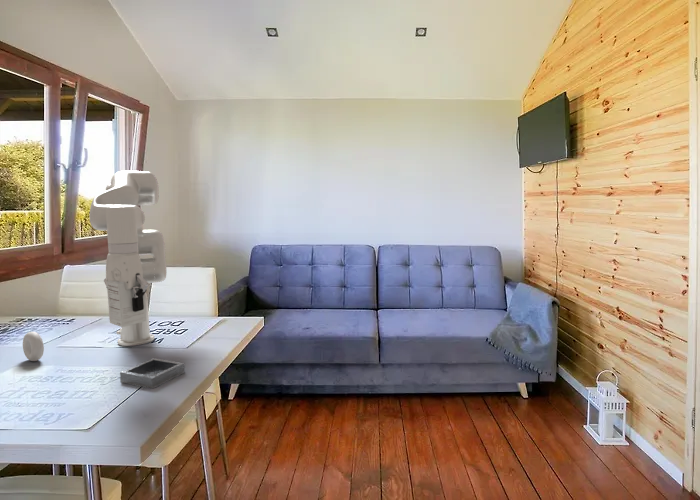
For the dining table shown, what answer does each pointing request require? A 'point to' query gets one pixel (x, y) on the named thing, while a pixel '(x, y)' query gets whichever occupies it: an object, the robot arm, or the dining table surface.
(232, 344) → the dining table surface
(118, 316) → the supplement box
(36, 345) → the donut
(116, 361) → the dining table surface
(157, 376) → the locating frame
